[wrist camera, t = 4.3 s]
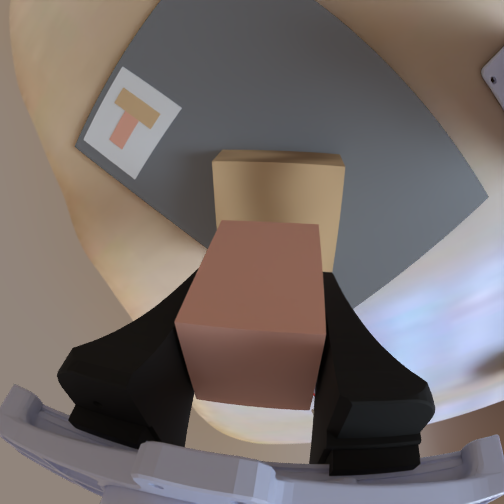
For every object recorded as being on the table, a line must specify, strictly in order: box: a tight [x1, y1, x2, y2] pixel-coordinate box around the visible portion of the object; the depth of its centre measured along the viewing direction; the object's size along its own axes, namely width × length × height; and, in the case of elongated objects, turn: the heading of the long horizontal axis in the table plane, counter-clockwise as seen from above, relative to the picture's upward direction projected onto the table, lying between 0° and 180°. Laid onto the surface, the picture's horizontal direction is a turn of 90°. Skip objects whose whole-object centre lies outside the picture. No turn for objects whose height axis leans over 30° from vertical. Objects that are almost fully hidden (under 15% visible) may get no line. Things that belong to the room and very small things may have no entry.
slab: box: [212, 150, 345, 272], centre depth 19 cm, size 7×7×2 cm
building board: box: [75, 0, 488, 309], centre depth 19 cm, size 24×17×1 cm
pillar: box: [174, 220, 326, 410], centre depth 12 cm, size 4×4×6 cm
